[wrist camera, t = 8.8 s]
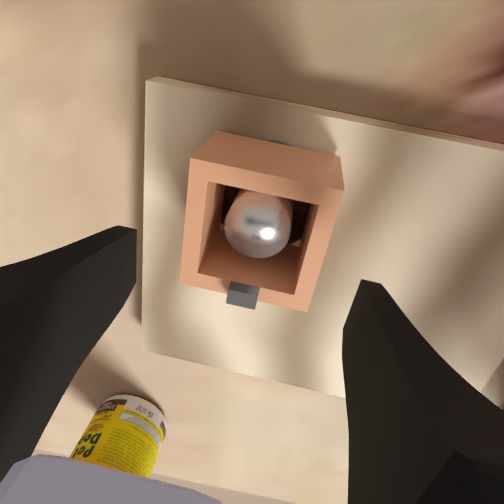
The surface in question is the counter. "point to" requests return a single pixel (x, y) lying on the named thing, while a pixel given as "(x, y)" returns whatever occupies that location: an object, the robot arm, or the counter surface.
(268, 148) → the orange hollow cube
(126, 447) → the supplement bottle
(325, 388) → the beige base plate
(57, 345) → the robot arm
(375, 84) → the counter surface
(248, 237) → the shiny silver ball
